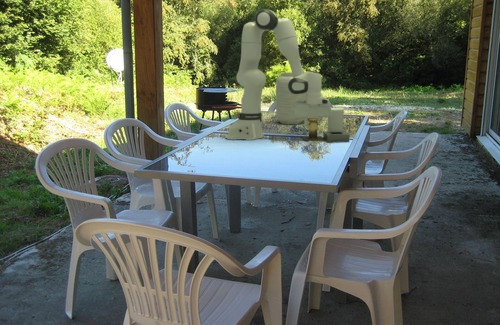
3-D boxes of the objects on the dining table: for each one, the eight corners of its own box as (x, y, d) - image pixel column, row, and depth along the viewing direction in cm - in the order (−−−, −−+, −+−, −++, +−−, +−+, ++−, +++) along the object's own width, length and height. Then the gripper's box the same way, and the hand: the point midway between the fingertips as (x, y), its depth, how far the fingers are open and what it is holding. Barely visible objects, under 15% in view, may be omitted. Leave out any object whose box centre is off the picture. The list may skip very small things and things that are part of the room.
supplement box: (342, 135, 289) (343, 109, 286) (327, 134, 291) (327, 109, 288) (343, 132, 298) (343, 107, 295) (328, 132, 300) (328, 107, 296)
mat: (303, 140, 273) (303, 140, 273) (300, 137, 285) (300, 136, 285) (325, 140, 274) (325, 139, 274) (321, 136, 285) (321, 135, 285)
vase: (297, 126, 324) (298, 74, 316) (270, 124, 334) (270, 73, 327) (310, 122, 341) (311, 72, 333) (284, 120, 351) (284, 71, 343)
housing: (327, 142, 268) (327, 135, 267) (323, 138, 280) (323, 131, 279) (349, 142, 268) (349, 134, 267) (344, 138, 280) (344, 131, 279)
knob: (308, 139, 276) (308, 119, 274) (306, 137, 282) (307, 117, 280) (319, 138, 276) (319, 118, 274) (317, 136, 282) (317, 117, 280)
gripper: (295, 101, 271) (295, 126, 274) (332, 100, 272) (331, 125, 275) (293, 100, 277) (293, 124, 280) (330, 99, 278) (329, 124, 281)
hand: (312, 125), depth 278 cm, fingers open, 5 cm apart
